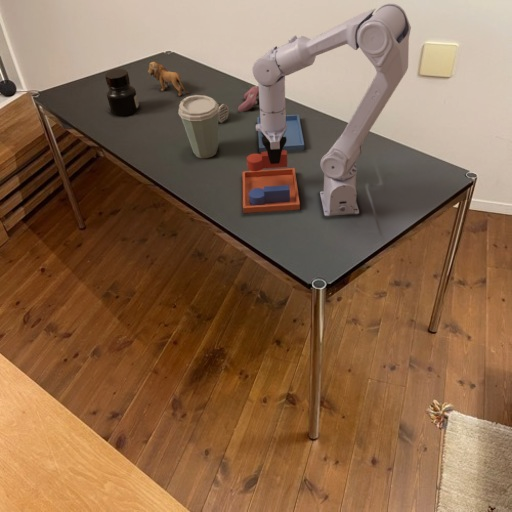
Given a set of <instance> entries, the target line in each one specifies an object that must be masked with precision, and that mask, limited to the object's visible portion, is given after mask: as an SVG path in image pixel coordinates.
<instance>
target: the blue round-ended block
mask: <svg viewBox="0 0 512 512" xmlns="http://www.w3.org/2000/svg"><path fill="white" fill-rule="evenodd" d="M249 200H250V204H251V205H253V206H257V205H264V204H265V203H279V202H290V188H289V185H283V186H267V187H264V189H261V188H255V189H252V190H251V191H250V192H249Z"/></svg>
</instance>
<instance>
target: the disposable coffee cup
mask: <svg viewBox="0 0 512 512" xmlns="http://www.w3.org/2000/svg"><path fill="white" fill-rule="evenodd" d="M187 96H188V97H186V96H185V97H186V98H185V99H183V100H182V101H181V102H180V101H179V103H180V105H179V104H178V110H177V113H178V115H179V117H180V118H181V119H180V120H181V122H182V125H183V127H184V129H185V133H186V136H187V138H188V141H189V144H190V147H191V149H192V152H193V154H194V155H195V157H196V158H199V159H209V158H212V157H214V156H215V155H216V154H217V152H218V149H219V122H218V113H219V105H218V103H219V102H217V101H216V100H215V99H214V98H213V97H211V96H209V95H200V94H193V95H187Z"/></svg>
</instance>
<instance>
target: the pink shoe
mask: <svg viewBox="0 0 512 512" xmlns="http://www.w3.org/2000/svg"><path fill="white" fill-rule="evenodd" d="M258 97H259V86H258V85H253V86H252V87H251V88H250V89H249V90H248V91H246V92H245V93H244V95H243V99H244V102H242V103H241V104H239V106H238V108H237V110H238V112H247V111H249V110H252V108H253V107H254V105H257V104H258V101H257V98H258Z"/></svg>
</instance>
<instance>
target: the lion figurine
mask: <svg viewBox="0 0 512 512" xmlns="http://www.w3.org/2000/svg"><path fill="white" fill-rule="evenodd" d="M146 72H147V73H148V75H149V76H150V77H153V78H155V79H156V80H157V81H158V82H159V83H160V86H161V88H160V91H161V92H163V91H165V90H166V88H169V84H172V86H173V87H174V89H176V91H178V93H177V94H178V96H179V97H180V96H183V92H182V91H184V92H185V93H186V94H190V91H189V90H187V89H185V88H184V86H183V83H182V80H181V76H180V74H179V73H178V72H176V71H170V70H167V69H166V67H165V66H164V65H162V63H159V62H157V61H151V62H149V68H148V70H147V71H146Z"/></svg>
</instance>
